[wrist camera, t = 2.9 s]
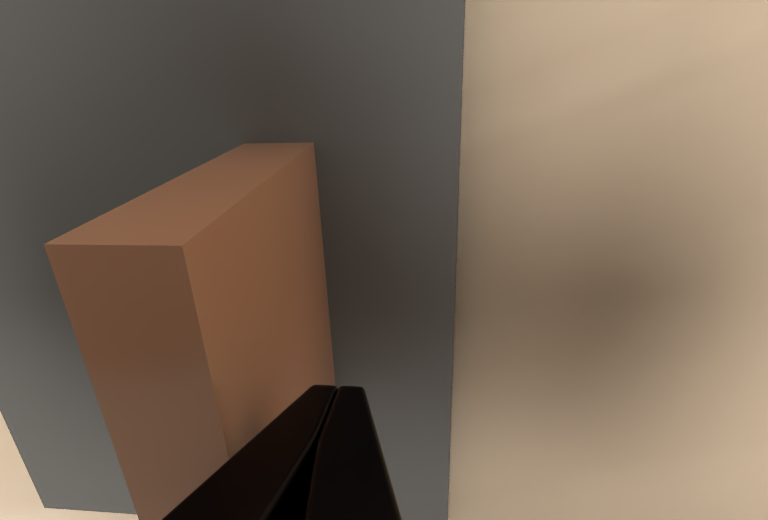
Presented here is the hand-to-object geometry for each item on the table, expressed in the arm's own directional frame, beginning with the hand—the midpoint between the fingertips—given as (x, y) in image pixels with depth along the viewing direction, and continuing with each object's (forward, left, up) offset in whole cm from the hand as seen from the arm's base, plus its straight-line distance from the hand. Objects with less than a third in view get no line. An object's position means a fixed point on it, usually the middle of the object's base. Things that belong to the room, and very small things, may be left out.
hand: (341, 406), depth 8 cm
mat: (-1, +5, -5) cm, 7 cm away
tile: (0, +2, -4) cm, 5 cm away
